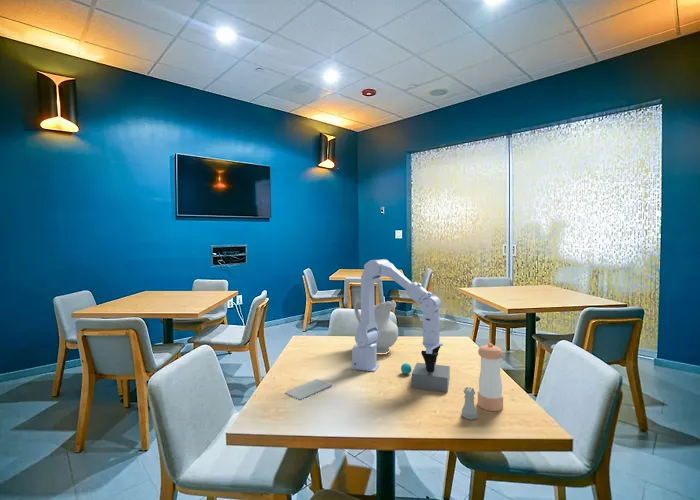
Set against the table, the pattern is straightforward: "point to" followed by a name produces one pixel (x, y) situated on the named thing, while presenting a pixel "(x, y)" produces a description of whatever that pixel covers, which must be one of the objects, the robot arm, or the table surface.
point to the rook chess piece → (469, 404)
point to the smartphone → (308, 389)
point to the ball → (406, 368)
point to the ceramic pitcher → (382, 324)
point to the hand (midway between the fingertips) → (431, 368)
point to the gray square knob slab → (431, 377)
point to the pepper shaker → (490, 378)
